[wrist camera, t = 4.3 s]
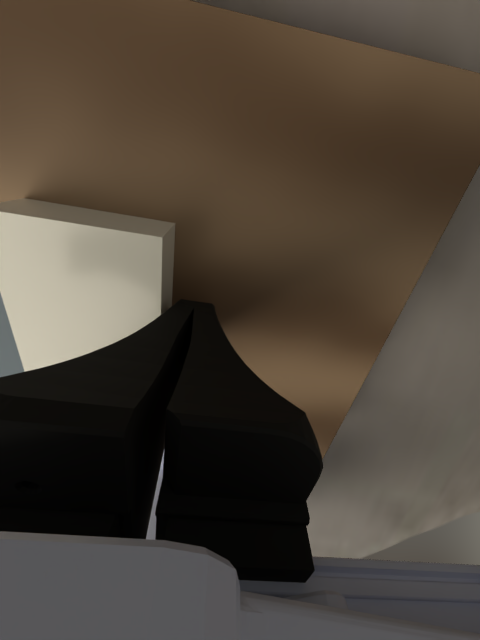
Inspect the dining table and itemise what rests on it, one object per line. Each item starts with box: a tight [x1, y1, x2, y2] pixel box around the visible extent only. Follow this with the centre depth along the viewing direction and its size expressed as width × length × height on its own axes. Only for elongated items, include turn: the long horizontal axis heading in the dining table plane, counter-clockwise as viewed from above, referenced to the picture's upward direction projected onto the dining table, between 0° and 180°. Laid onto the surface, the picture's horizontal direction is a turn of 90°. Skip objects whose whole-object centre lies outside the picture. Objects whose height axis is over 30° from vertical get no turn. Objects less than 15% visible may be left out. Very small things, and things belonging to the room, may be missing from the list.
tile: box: [0, 198, 175, 372], centre depth 10 cm, size 7×5×2 cm
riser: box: [0, 0, 480, 459], centre depth 13 cm, size 18×16×3 cm
